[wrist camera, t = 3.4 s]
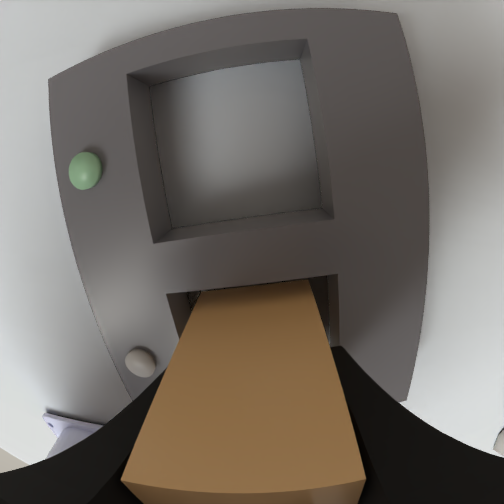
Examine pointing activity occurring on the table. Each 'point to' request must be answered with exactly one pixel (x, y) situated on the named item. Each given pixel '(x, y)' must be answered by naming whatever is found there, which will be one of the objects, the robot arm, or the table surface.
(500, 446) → the flask
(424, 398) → the table surface
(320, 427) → the plug
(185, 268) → the socket block
